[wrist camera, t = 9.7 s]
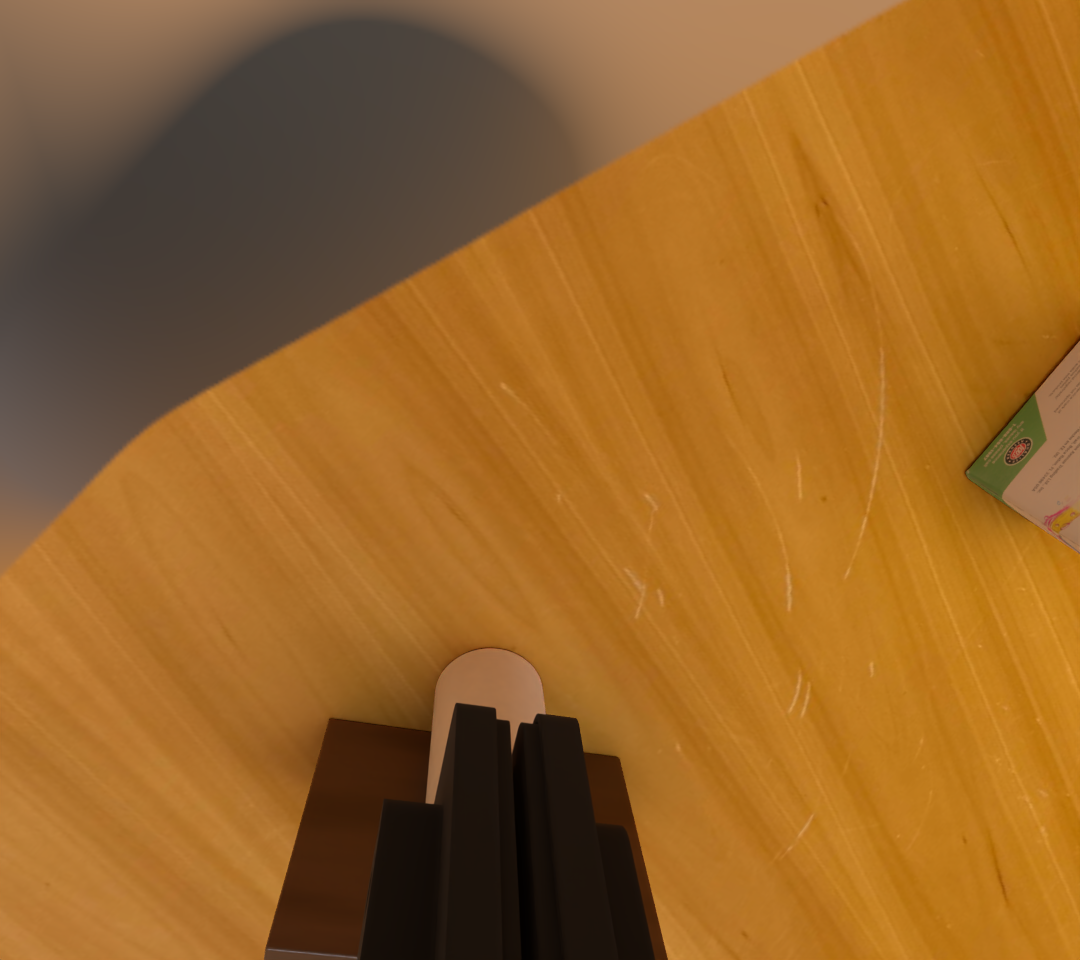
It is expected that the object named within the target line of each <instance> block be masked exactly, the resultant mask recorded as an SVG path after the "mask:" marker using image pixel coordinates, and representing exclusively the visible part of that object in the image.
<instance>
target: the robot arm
mask: <svg viewBox="0 0 1080 960" xmlns="http://www.w3.org/2000/svg"><path fill="white" fill-rule="evenodd" d="M357 960H655V956H654V952H653V947H652V942H651V938H650V933H649V928H648V924H647V919H646V914H645V910H644V905H643V900H642V896H641V891H640V886H639V882H638V877H637V872H636V868H635V863H634V858H633V854H632V849H631V844H630V840H629V837H628V834H627V831H626V829H625V828H624V827H623V826H621V825H612V824H604V823H595V817H594V811H593V805H592V799H591V793H590V787H589V781H588V776H587V770H586V764H585V758H584V752H583V746H582V740H581V734H580V728H579V723H578V720H577V719H576V718H570V717H562V716H554V715H547V714H539V713H538V714H536V716H535V718H534V721H533V724H531V723H524V722H521V723H520V725H519V727H518V731H517V735H516V739H515V743H514V747H513V751H512V750H511V730H510V722H509V721H508V720H501V719H497V715H496V709H495V708H494V707H486V706H479V705H471V704H463V703H456V704H455V707H454V710H453V715H452V720H451V724H450V729H449V734H448V739H447V743H446V748H445V753H444V758H443V763H442V767H441V772H440V777H439V782H438V786H437V791H436V796H435V801H434V804H428V803H419V802H410V801H402V800H393V799H384V801H383V806H382V811H381V817H380V822H379V828H378V833H377V839H376V844H375V850H374V856H373V862H372V868H371V874H370V880H369V886H368V892H367V898H366V904H365V911H364V917H363V923H362V930H361V936H360V943H359V949H358V956H357Z"/></svg>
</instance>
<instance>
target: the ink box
mask: <svg viewBox="0 0 1080 960" xmlns="http://www.w3.org/2000/svg"><path fill="white" fill-rule="evenodd" d="M966 476H967V477H968V479H969V480H971V481H972V482H974V483H975V484H976V485H978V486H979V487H981V488H982V489H983V490H985V491H986V492H988V493H989V494H991V495H992V496H994V497H995V498H997V499H998V500H1000V501H1001V502H1003V503H1004V504H1006V505H1007V506H1008V507H1010V508H1011V509H1013V510H1014V511H1016V512H1017V513H1019V514H1020V515H1022V516H1023V517H1025V518H1026V519H1028V520H1029V521H1031V522H1032V523H1034V524H1035V525H1037V526H1038V527H1040V528H1041V529H1043V530H1044V531H1046V532H1047V533H1049V534H1050V535H1052V536H1053V537H1055V538H1056V539H1058V540H1059V541H1061V542H1062V543H1064V544H1065V545H1067V546H1068V547H1070V548H1072V549H1073V550H1075V551H1076V552H1078V553H1079V554H1080V341H1079V342H1078V343H1077V344H1076V346H1075V347H1074V348H1073V349H1072V350H1071V351H1070V352H1069V354H1068V355H1067V356H1066V357H1065V358H1064V359H1063V360H1062V362H1061V363H1060V364H1059V365H1058V366H1057V368H1056V369H1055V370H1054V371H1053V372H1052V373H1051V374H1050V376H1049V377H1048V378H1047V379H1046V381H1045V382H1044V383H1043V384H1042V385H1041V386H1040V388H1039V389H1038V390H1037V391H1036V392H1035V393H1034V394H1033V396H1032V397H1031V398H1030V399H1029V400H1028V401H1027V403H1026V404H1025V405H1024V406H1023V407H1022V409H1021V410H1020V411H1019V412H1018V413H1017V414H1016V415H1015V416H1014V418H1013V419H1012V420H1011V421H1010V422H1009V424H1008V425H1007V426H1006V427H1005V428H1004V429H1003V430H1002V432H1001V433H1000V434H999V435H998V436H997V437H996V438H995V440H994V441H993V442H992V443H991V444H990V445H989V447H988V448H987V449H986V450H985V451H984V452H983V454H982V455H981V456H980V457H979V458H978V459H977V460H976V461H975V463H974V464H973V465H972V466H971V467H970V468H969V469H968V470H967V471H966Z"/></svg>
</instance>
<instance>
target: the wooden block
mask: <svg viewBox="0 0 1080 960" xmlns="http://www.w3.org/2000/svg"><path fill="white" fill-rule="evenodd" d="M431 734H432V732H425V731H418V730H410V729H403V728H396V727H388V726H381V725H373V724H366V723H359V722H351V721H344V720H336V719H330V720H329V722H328V725H327V729H326V732H325V736H324V740H323V743H322V747H321V750H320V754H319V758H318V761H317V765H316V768H315V772H314V776H313V779H312V783H311V786H310V790H309V794H308V797H307V801H306V804H305V808H304V812H303V815H302V819H301V822H300V826H299V830H298V833H297V837H296V840H295V844H294V848H293V851H292V855H291V858H290V862H289V866H288V869H287V873H286V876H285V880H284V884H283V887H282V891H281V894H280V898H279V902H278V905H277V909H276V912H275V916H274V920H273V923H272V927H271V930H270V934H269V937H268V941H267V945H266V949H265V956H264V960H357V956H358V949H359V943H360V936H361V930H362V923H363V917H364V911H365V904H366V898H367V892H368V886H369V880H370V874H371V868H372V862H373V856H374V850H375V844H376V839H377V833H378V828H379V822H380V817H381V811H382V806H383V801H384V799H393V800H402V801H410V802H419V803H426V792H427V780H428V769H429V757H430V745H431ZM584 758H585V764H586V770H587V776H588V781H589V787H590V793H591V799H592V805H593V811H594V817H595V823H604V824H612V825H621V826H623V827H624V828H625V829H626V831H627V834H628V837H629V840H630V844H631V849H632V854H633V858H634V863H635V868H636V872H637V877H638V882H639V886H640V891H641V896H642V900H643V905H644V910H645V914H646V919H647V924H648V928H649V933H650V938H651V942H652V947H653V952H654V956H655V960H668V958H667V954H666V950H665V946H664V942H663V938H662V933H661V929H660V925H659V921H658V917H657V913H656V909H655V904H654V900H653V896H652V892H651V888H650V884H649V879H648V875H647V871H646V867H645V863H644V859H643V855H642V850H641V846H640V842H639V838H638V834H637V830H636V825H635V821H634V817H633V813H632V809H631V805H630V801H629V796H628V792H627V788H626V784H625V780H624V776H623V771H622V767H621V763H620V759H619V758H618V757H610V756H603V755H596V754H588V753H584Z"/></svg>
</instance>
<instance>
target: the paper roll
mask: <svg viewBox="0 0 1080 960" xmlns="http://www.w3.org/2000/svg"><path fill="white" fill-rule="evenodd" d="M456 703H463V704H471V705H479V706H486V707H494V708H495V709H496V715H497V719H501V720H508V721H509V722H510V730H511V750H512V751H513V747H514V743H515V739H516V735H517V731H518V727H519V725H520V723H521V722H524V723H531V724H533V721H534V718H535V716H536V714H538V713H539V714H546V712H545V704H544V696H543V688H542V683H541V679H540V677H539V675H538V673H537V672H536V670H535V669H534V667H533V666H532V665H531V664H530V663H529V662H528V661H526V660H525V659H524V658H522V657H521V656H519V655H517V654H515V653H513V652H510V651H507V650H502V649H495V648H485V649H478V650H474V651H471V652H468V653H465V654H463V655H461V656H459V657H458V658H456V659H455V660H453V661H452V662H451V663H450V664H449V665H448V666H447V667H446V668H445V669H444V671H443V672H442V674H441V675H440V677H439V679H438V681H437V685H436V690H435V699H434V711H433V722H432V734H431V745H430V757H429V769H428V780H427V792H426V803H428V804H434V801H435V796H436V791H437V786H438V782H439V777H440V772H441V767H442V763H443V758H444V753H445V748H446V743H447V739H448V734H449V729H450V724H451V720H452V715H453V710H454V707H455V704H456Z"/></svg>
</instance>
